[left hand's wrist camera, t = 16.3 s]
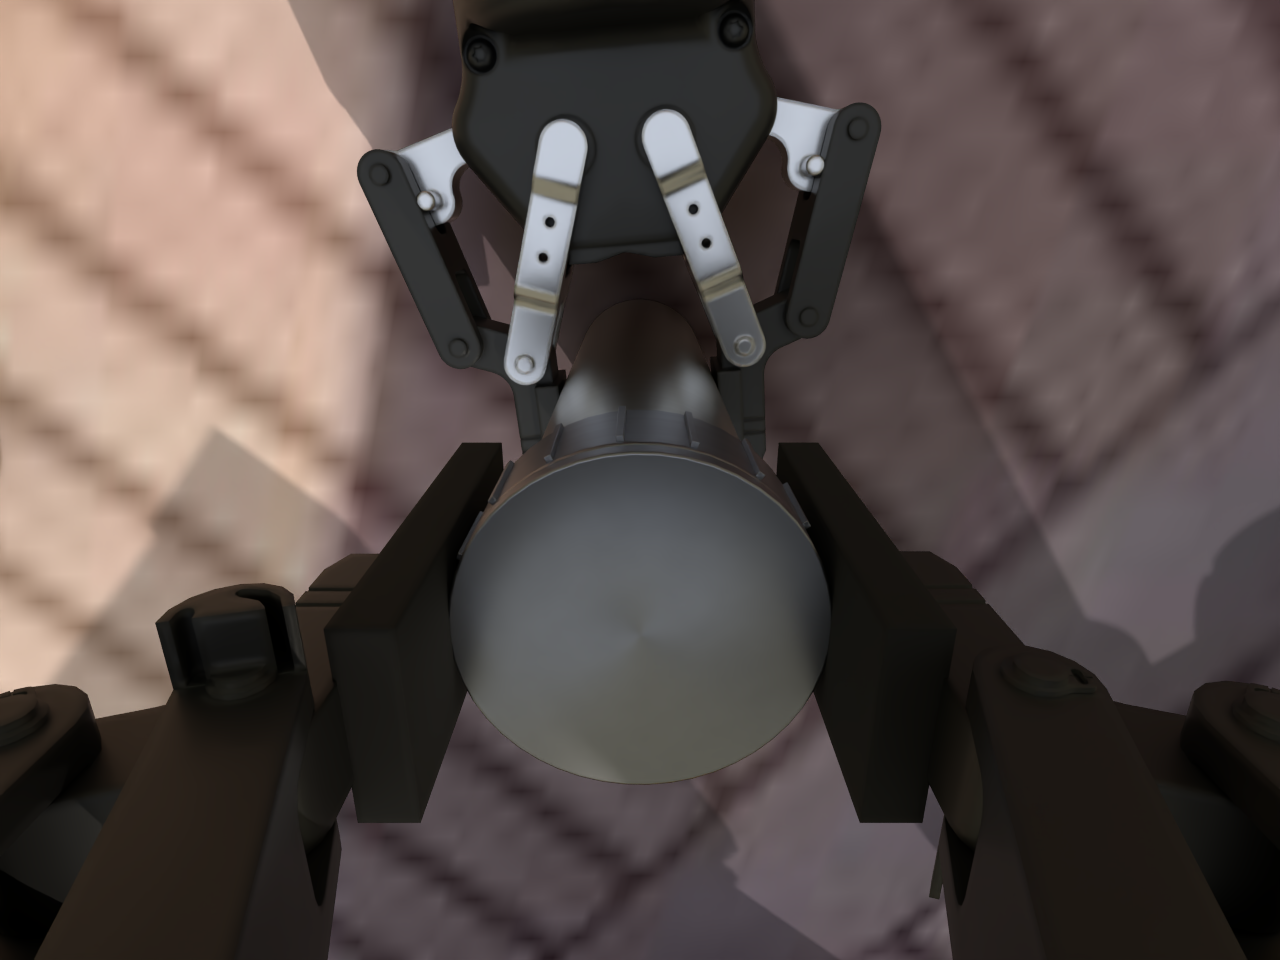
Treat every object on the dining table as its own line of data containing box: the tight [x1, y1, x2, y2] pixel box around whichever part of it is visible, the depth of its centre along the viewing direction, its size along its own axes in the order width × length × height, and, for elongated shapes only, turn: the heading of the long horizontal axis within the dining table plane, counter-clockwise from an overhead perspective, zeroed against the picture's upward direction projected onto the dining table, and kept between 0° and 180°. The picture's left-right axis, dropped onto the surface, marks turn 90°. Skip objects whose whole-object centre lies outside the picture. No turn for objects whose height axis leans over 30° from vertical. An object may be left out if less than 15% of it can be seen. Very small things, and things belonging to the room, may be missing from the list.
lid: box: [449, 406, 832, 785], centre depth 11 cm, size 6×6×2 cm
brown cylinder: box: [542, 299, 739, 439], centre depth 19 cm, size 5×5×19 cm
